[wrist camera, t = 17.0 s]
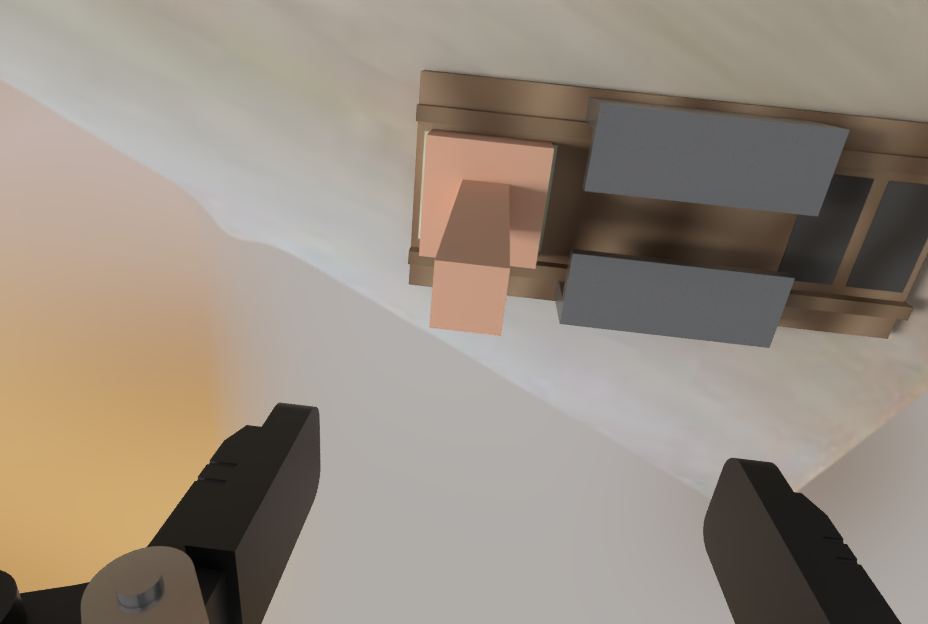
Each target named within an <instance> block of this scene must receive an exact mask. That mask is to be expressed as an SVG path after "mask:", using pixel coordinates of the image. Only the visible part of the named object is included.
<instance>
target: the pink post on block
mask: <svg viewBox="0 0 928 624" xmlns="http://www.w3.org/2000/svg"><path fill="white" fill-rule="evenodd" d="M553 154H554V147H553V145H552V143H551V141H541V140H532V139H523V138H513V137H504V136H495V135H485V134H476V133H467V132H457V131H448V130H438V129H432V130H431V131H430V132H429V133H428V134H427V135H426V151H425V167H424V183H423V198H422V214H421V230H420V246H419V256H425V257H434V258H435V262H434V275H433V289H432V302H431V315H430V328H438V329H446V330H455V331H464V332H472V333H481V334H490V335H498V336H501V332H502V325H503V317H504V310H505V303H506V295H507V288H508V281H509V273H510V266H514V267H523V268H532V269H535V268H536V262H537V256H538V249H539V243H540V237H541V230H542V224H543V217H544V211H545V205H546V198H547V192H548V186H549V179H550V173H551V167H552V160H553Z"/></svg>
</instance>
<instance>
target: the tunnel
mask: <svg viewBox="0 0 928 624" xmlns="http://www.w3.org/2000/svg"><path fill="white" fill-rule="evenodd" d="M585 122H586V123H587V124H588V125H590V126H591V127H592V128H593V132H592V138H591V143H590V148H589V154H588V159H587V165H586V170H585V176H584V181H583V187H582V188H583V189H584V191H589V192H598V193H607V194H616V195H626V196H635V197H644V198H653V199H662V200H671V201H681V202H690V203H699V204H708V205H717V206H727V207H736V208H745V209H754V210H763V211H773V212H782V213H791V214H800V215H809V216H818V215H819V212H820V209H821V207H822V204H823V201H824V198H825V196H826V193H827V190H828V188H829V185H830V182H831V179H832V177H833V174H834V171H835V169H836V166H837V163H838V160H839V158H840V155H841V152H842V150H843V147H844V144H845V141H846V139H847V136H848V133H849V131H850V130H849V129H844V128H840V127H836V126H831V125H827V124H823V123H819V122H814V121H810V120H804V119H795V118H785V117H776V116H766V115H757V114H747V113H738V112H728V111H719V110H709V109H700V108H690V107H680V106H671V105H661V104H652V103H642V102H633V101H623V100H614V99H604V98H595V97H589V100H588V106H587V111H586V117H585ZM794 280H795V278H794V277H793V276H791V275H790V274H789V273H787V272H778V271H769V270H760V269H751V268H742V267H733V266H724V265H715V264H706V263H697V262H688V261H679V260H670V259H661V258H652V257H643V256H634V255H625V254H616V253H607V252H598V251H589V250H580V249H571V252H570V258H569V263H568V269H567V274H566V280H565V282H562V281H557V282H556V287H555V293H554V296H555V301H556V306H557V312H558V317H559V322H560V324H566V325H575V326H583V327H592V328H601V329H610V330H618V331H627V332H636V333H645V334H653V335H662V336H671V337H679V338H688V339H697V340H706V341H714V342H723V343H732V344H741V345H749V346H758V347H767V348H769V347H770V345H771V342H772V339H773V337H774V334H775V331H776V329H777V326H778V323H779V320H780V318H781V315H782V312H783V310H784V307H785V304H786V301H787V299H788V296H789V293H790V291H791V288H792V285H793V282H794Z"/></svg>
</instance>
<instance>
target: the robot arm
mask: <svg viewBox="0 0 928 624" xmlns="http://www.w3.org/2000/svg"><path fill="white" fill-rule="evenodd" d="M319 478H320V424H319V411H318V408H317V407H312V406H304V405H295V404H286V403H278V404H277V405H276V406H275V407H274V409H273V410H272V412H271V413H270V415H269V416H268V418H267V420H266V421H265V423H264V424H263V426H262V427H258V426H249V425H246V426H245V427H243V428H242V429H241V430H239V431H238V432H236V433H235V434H233V435H232V436H230V437H229V438H227V439H226V440H224V442H223V443H222V444H221V446H220V447H219V448H218V450H217V451H216V453H215V454H214V455H213V457H212V458H211V460H210V463H209V464H207V465H206V466H205V468H204V469H203V471H202V472H201V473H200V475H199V476H198V480H197V481H195V482H194V483H193V484H192V486H191V487H190V489H189V490H188V491H187V493H186V494H185V495H184V497H183V498H182V500H181V501H180V502H179V504H178V505H177V507H176V508H175V509H174V511H173V512H172V513H171V515H170V516H169V518H168V519H167V520H166V522H165V523H164V524H163V526H162V527H161V528H160V530H159V531H158V533H157V534H156V535H155V537H154V538H153V540H152V541H151V542H150V544H149V545H148V546H147V547H146V548H142V549H138V550H134V551H132V552H130V553H127V554H125V555H123V556H121V557H119V558H117V559H115V560H113V561H112V562H110V563H109V564H107V565H106V566H105V567H104V568H103V569H102V570H100V571H99V572H98V573H97V574H96V575H95V576H94V577H93V579H92V580H91V581H90V582H88V583H83V584H78V585H72V586H66V587H59V588H52V589H46V590H39V591H33V592H26V593H20V594H19V591H18V588H17V585H16V582H15V580H14V579H13V578H12V576H11V575H9V574H8V573H6V572H4V571H1V570H0V624H261V623H262V621H263V618H264V616H265V614H266V611H267V609H268V606H269V604H270V602H271V600H272V597H273V595H274V593H275V590H276V588H277V586H278V583H279V581H280V579H281V576H282V574H283V572H284V569H285V567H286V565H287V562H288V560H289V558H290V555H291V553H292V551H293V548H294V546H295V543H296V541H297V539H298V537H299V534H300V532H301V530H302V527H303V525H304V523H305V520H306V518H307V516H308V513H309V511H310V509H311V506H312V504H313V502H314V499H315V496H316V493H317V489H318V484H319ZM703 534H704V543H705V547H706V551H707V554H708V556H709V559H710V561H711V564H712V566H713V569H714V571H715V574H716V576H717V579H718V581H719V584H720V586H721V589H722V591H723V594H724V597H725V599H726V602H727V604H728V606H729V609H730V612H731V614H732V617H733V619H734V622H735V624H901V622H900V621H899V620H898V618H897V617H896V615H895V614H894V612H893V611H892V609H891V608H890V606H889V605H888V604H887V602H886V601H885V599H884V598H883V596H882V595H881V593H880V592H879V591H878V589H877V588H876V586H875V585H874V583H873V582H872V580H871V579H870V578H869V576H868V574H867V573H866V571H865V570H864V569H863V567H862V566H861V565H859V564H857V558H856V557H855V556H854V554H853V552H852V551H851V550H850V548H849V547H848V545H847V544H844V543H843V538H842V536H841V535H840V534H839V532H838V531H837V529H836V528H835V526H834V525H833V524H832V522H831V520H830V519H829V518H828V516H827V515H826V514H825V513H824V512H823V511H822V510H820V509H819V508H818V507H817V506H816V505H815V504H813V503H812V502H811V501H810V500H809V499H808V498H807V497H805V496H804V495H803V494H802V493H795V492H793V490H792V489H791V487H790V486H789V484H788V483H787V481H786V479H785V478H784V476H783V475H782V473H781V472H780V470H779V469H778V467H777V466H776V465H775V464H773V463H771V462H763V461H755V460H746V459H738V458H730V459H728V460H727V461H726V463H725V464H724V467H723V469H722V472H721V475H720V477H719V480H718V483H717V486H716V488H715V491H714V494H713V496H712V499H711V502H710V505H709V507H708V510H707V513H706V517H705V520H704V527H703Z"/></svg>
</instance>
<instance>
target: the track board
mask: <svg viewBox="0 0 928 624" xmlns="http://www.w3.org/2000/svg"><path fill="white" fill-rule="evenodd" d="M589 97H595V98H604V99H614V100H623V101H633V102H642V103H652V104H661V105H671V106H680V107H690V108H700V109H709V110H719V111H728V112H738V113H747V114H757V115H766V116H776V117H785V118H795V119H804V120H810V121H814V122H819V123H823V124H827V125H831V126H836V127H840V128H844V129H849V130H850V131H849V133H848V136H847V139H846V141H845V144H844V147H843V150H842V152H841V155H840V158H839V160H838V163H837V166H836V169H835V171H834V174H833V177H832V179H831V182H830V185H829V188H828V190H827V193H826V196H825V198H824V201H823V204H822V207H821V209H820V212H819V215H818V216H809V215H800V214H791V213H782V212H773V211H763V210H754V209H745V208H736V207H727V206H717V205H708V204H699V203H690V202H681V201H671V200H662V199H653V198H644V197H635V196H626V195H616V194H607V193H598V192H589V191H584V189H583V188H582V187H583V181H584V176H585V170H586V165H587V159H588V154H589V148H590V143H591V138H592V132H593V128H592V127H591V126H590V125H588V124H587V123H586V122H585V117H586V111H587V106H588V100H589ZM416 121H418V131H417V149H416V167H415V185H414V203H413V221H412V238H411V248H410V250H409V258H408V264H410V274H409V284H411V285H420V286H428V287H433V275H434V262H435V258H434V257H425V256H419V246H420V230H421V214H422V198H423V183H424V167H425V151H426V135H427V134H428V133H429V132H430V131H431V130H432V129H438V130H448V131H457V132H467V133H476V134H485V135H495V136H504V137H513V138H523V139H532V140H541V141H551V143H552V145H553V147H554V154H553V160H552V167H551V173H550V179H549V186H548V192H547V198H546V205H545V211H544V217H543V224H542V230H541V237H540V243H539V249H538V256H537V262H536V268H535V269H532V268H523V267H514V266H510V273H509V281H508V288H507V295H508V296H516V297H525V298H534V299H543V300H552V301H555V296H554V293H555V287H556V282H557V281H562V282H565V280H566V274H567V269H568V263H569V258H570V252H571V249H580V250H589V251H598V252H607V253H616V254H625V255H634V256H643V257H652V258H661V259H670V260H679V261H688V262H697V263H706V264H715V265H724V266H733V267H742V268H751V269H760V270H769V271H778V272H787V273H789V274H790V275H791V276H793V277H794V278H795V280H794V282H793V285H792V288H791V291H790V293H789V296H788V299H787V301H786V304H785V307H784V310H783V312H782V315H781V318H780V320H779V323H778V326H780V327H789V328H798V329H807V330H816V331H824V332H833V333H842V334H851V335H860V336H868V337H877V338H886V339H888V337H889V335H890V332H891V330H892V328H893V326H894V324H895V322H896V320H897V319H899V320H908V319H909V317H910V314H911V312H912V310H913V307H912V306H910V305H908V304H907V303H905V300H906V298H907V296H908V294H909V292H910V290H911V287H912V285H913V283H914V281H915V279H916V277H917V275H918V272H919V270H920V268H921V266H922V264H923V262H924V260H925V257H926V255H927V253H928V123H925V122H915V121H906V120H896V119H886V118H877V117H867V116H858V115H848V114H839V113H829V112H820V111H810V110H800V109H791V108H781V107H772V106H762V105H753V104H743V103H733V102H724V101H714V100H705V99H695V98H686V97H676V96H666V95H657V94H647V93H638V92H628V91H619V90H609V89H600V88H590V87H580V86H571V85H561V84H552V83H542V82H533V81H523V80H513V79H504V78H494V77H485V76H475V75H466V74H456V73H446V72H437V71H427V70H423V71H421V78H420V96H419V104H418V105H417V112H416Z"/></svg>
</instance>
